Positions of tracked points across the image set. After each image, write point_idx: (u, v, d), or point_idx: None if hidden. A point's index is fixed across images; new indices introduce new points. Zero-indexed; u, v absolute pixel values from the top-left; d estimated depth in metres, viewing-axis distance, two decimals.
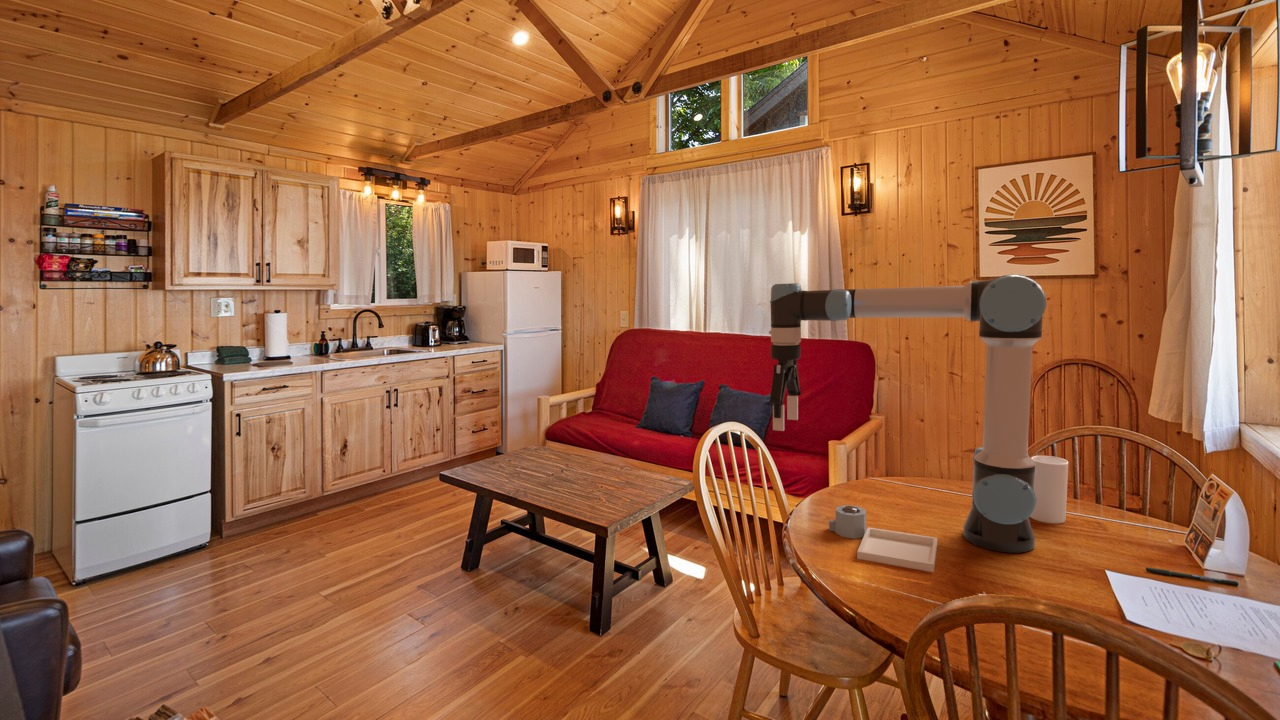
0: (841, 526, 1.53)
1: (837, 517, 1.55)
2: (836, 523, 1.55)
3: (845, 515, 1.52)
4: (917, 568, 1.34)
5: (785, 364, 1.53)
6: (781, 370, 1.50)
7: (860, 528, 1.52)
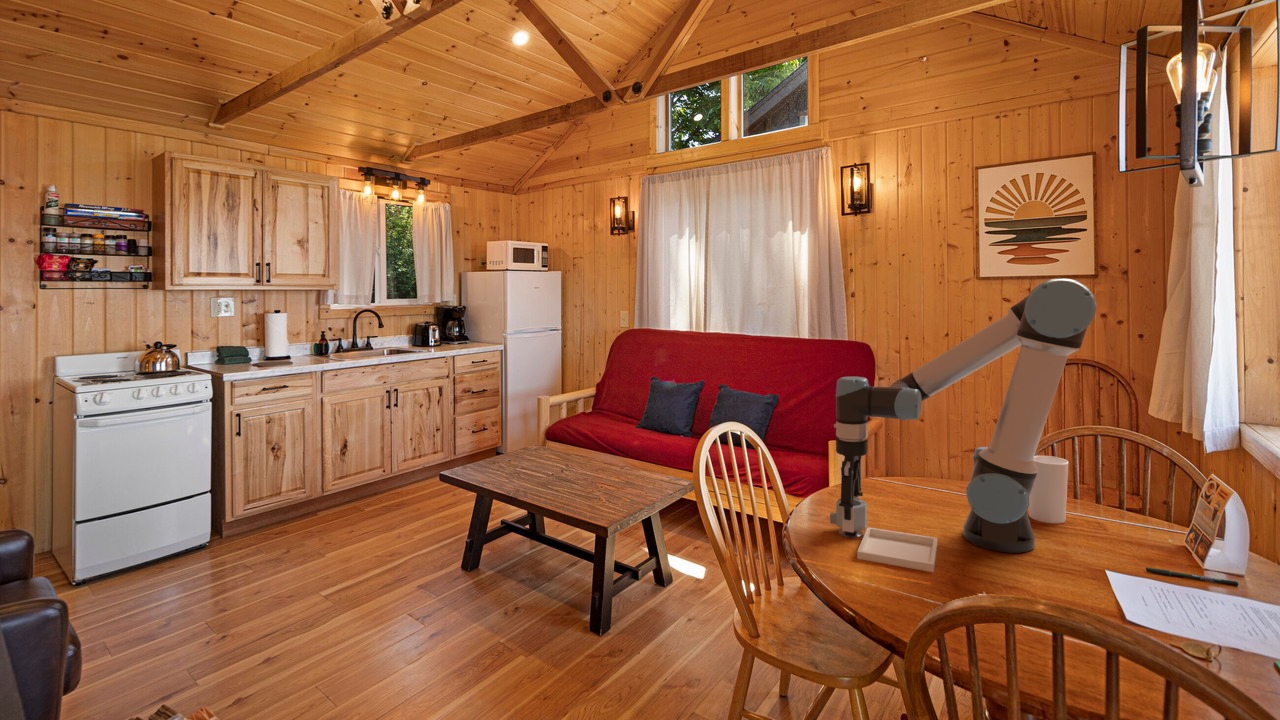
0: None
1: (838, 509, 1.54)
2: (837, 516, 1.55)
3: None
4: (917, 568, 1.34)
5: (852, 462, 1.49)
6: (849, 473, 1.47)
7: (861, 520, 1.52)
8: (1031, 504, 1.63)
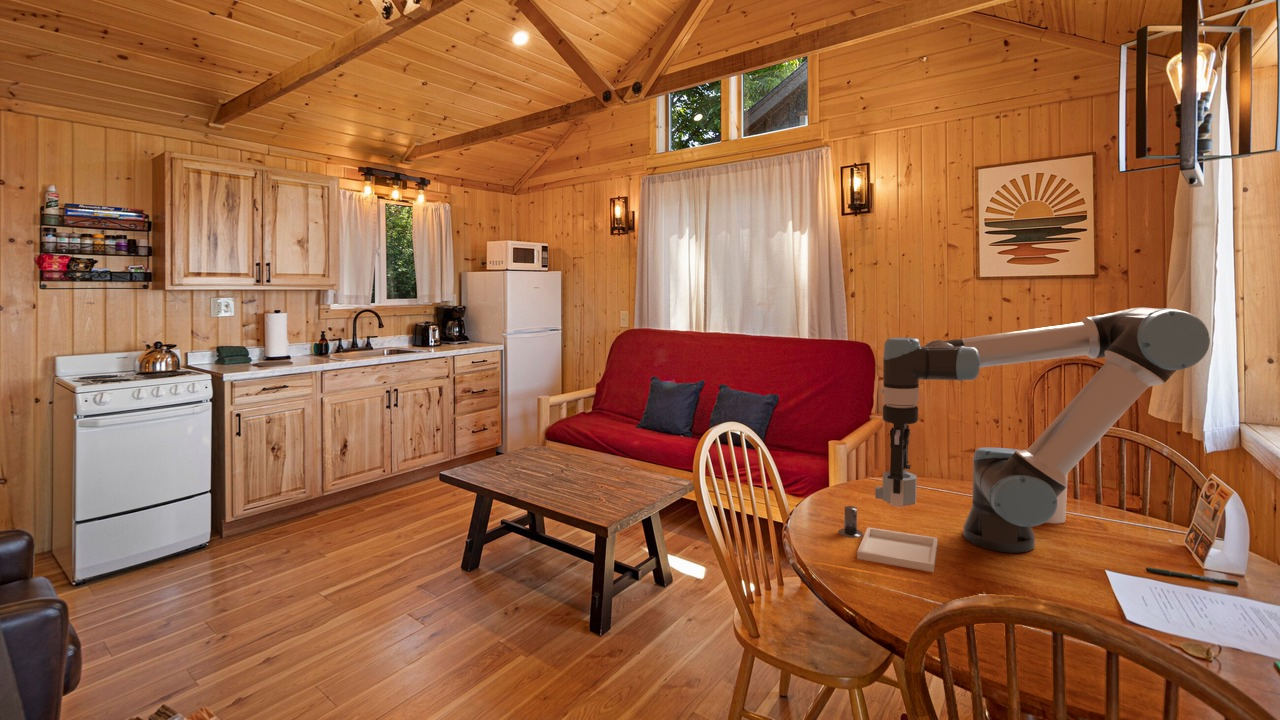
0: (890, 492, 1.40)
1: (885, 483, 1.41)
2: (883, 490, 1.42)
3: None
4: (917, 568, 1.34)
5: (902, 430, 1.37)
6: (900, 442, 1.35)
7: (911, 494, 1.39)
8: None
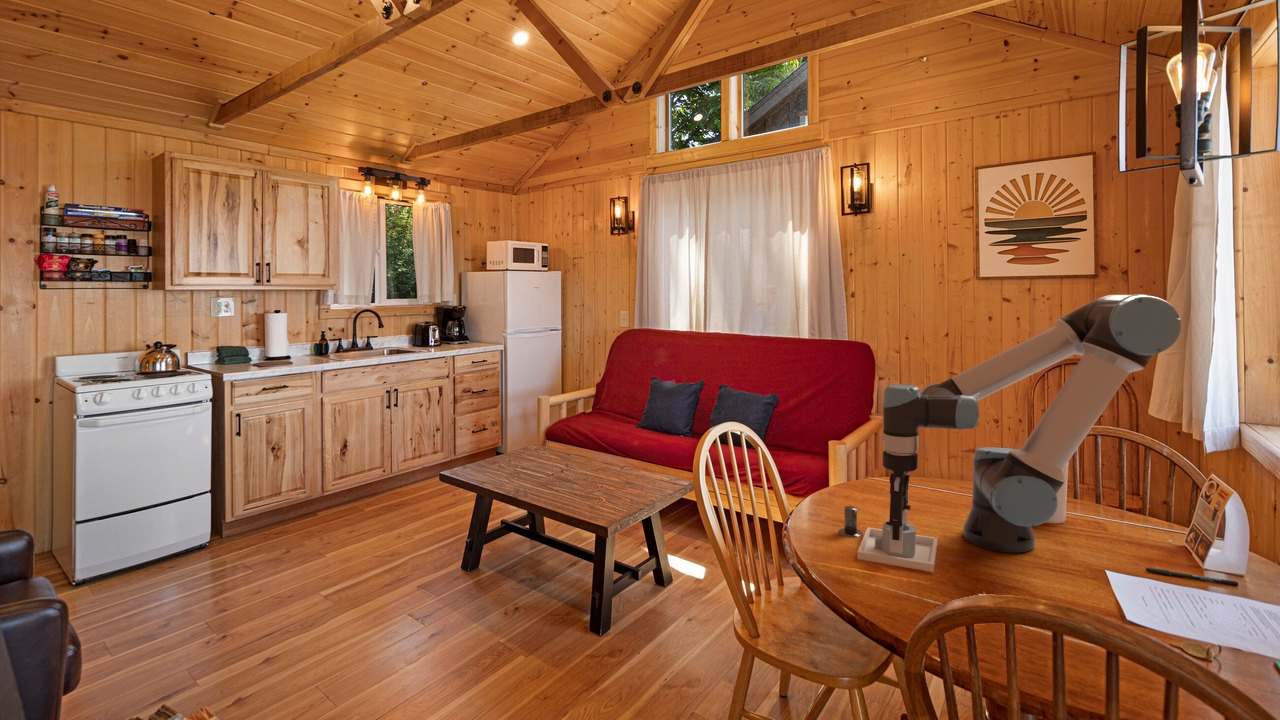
0: (889, 544, 1.41)
1: (884, 534, 1.43)
2: (883, 541, 1.43)
3: None
4: (917, 568, 1.34)
5: (902, 477, 1.38)
6: (900, 488, 1.35)
7: (910, 547, 1.40)
8: None
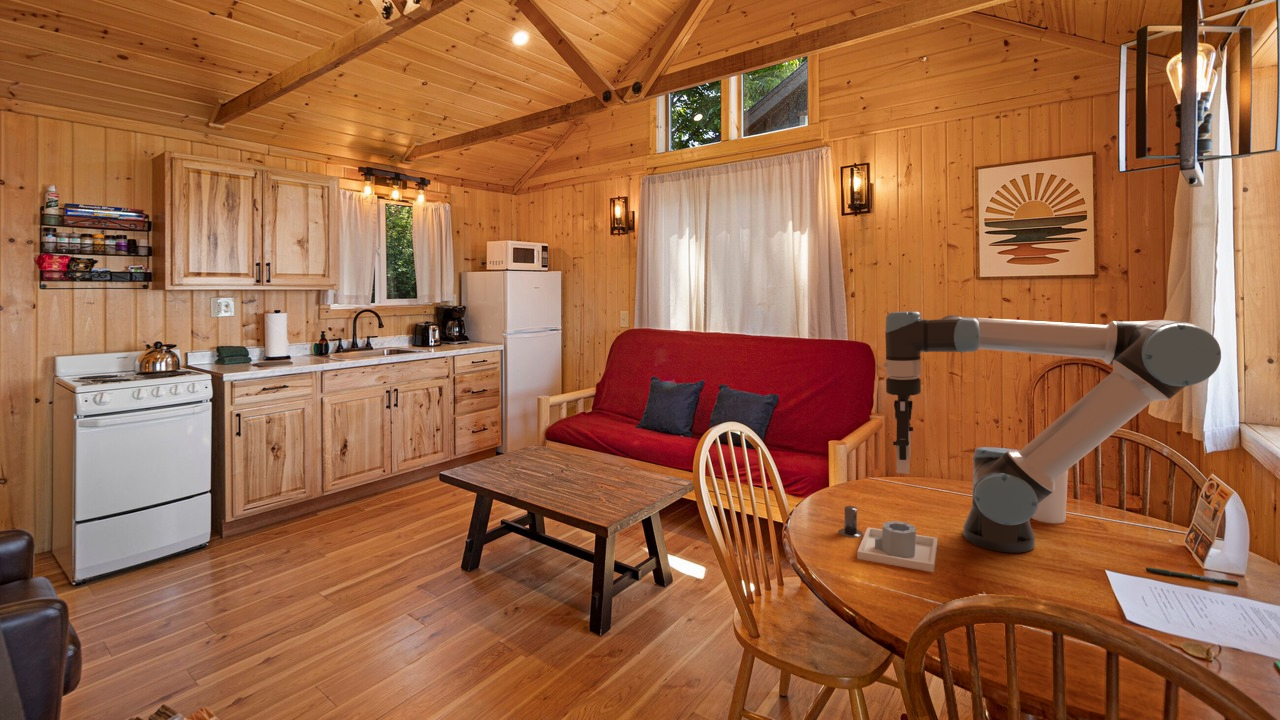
0: (889, 544, 1.41)
1: (884, 534, 1.43)
2: (883, 541, 1.43)
3: (894, 532, 1.40)
4: (917, 568, 1.34)
5: (907, 400, 1.40)
6: (906, 407, 1.37)
7: (910, 547, 1.40)
8: None
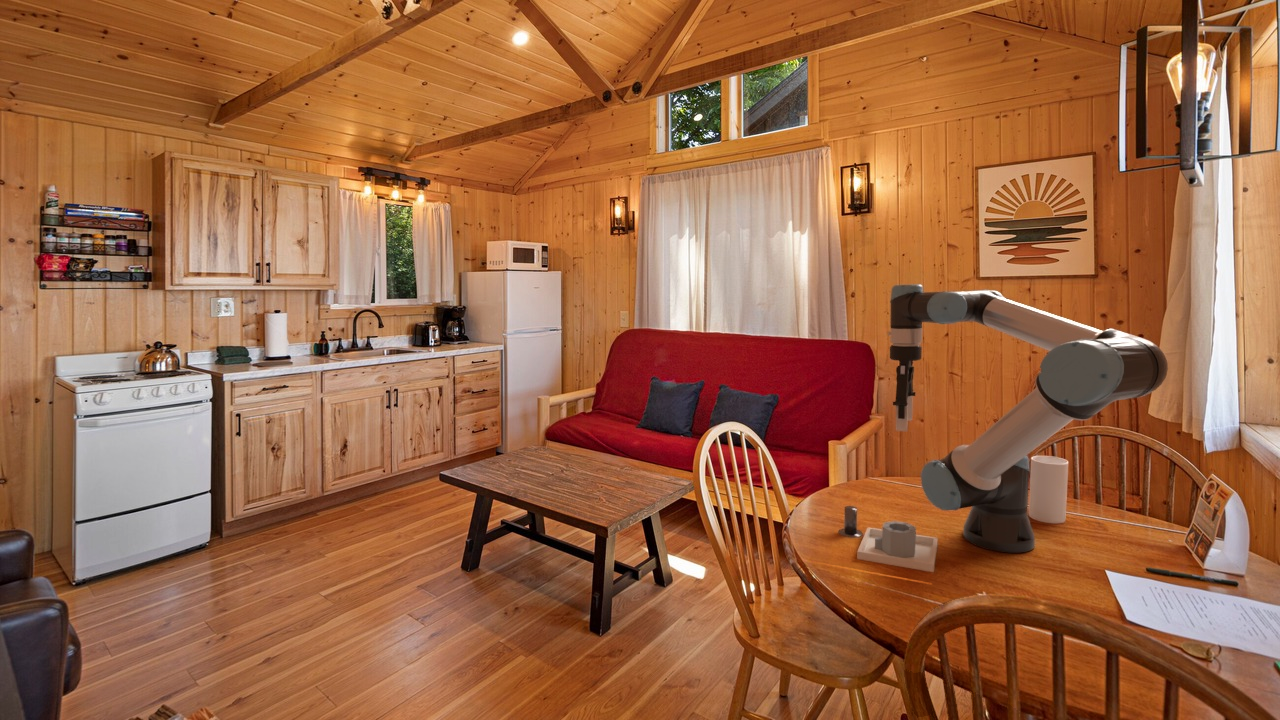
0: (889, 544, 1.41)
1: (884, 534, 1.43)
2: (883, 541, 1.43)
3: (894, 532, 1.40)
4: (917, 568, 1.34)
5: (907, 365, 1.53)
6: (906, 371, 1.50)
7: (910, 547, 1.40)
8: (1031, 504, 1.63)
